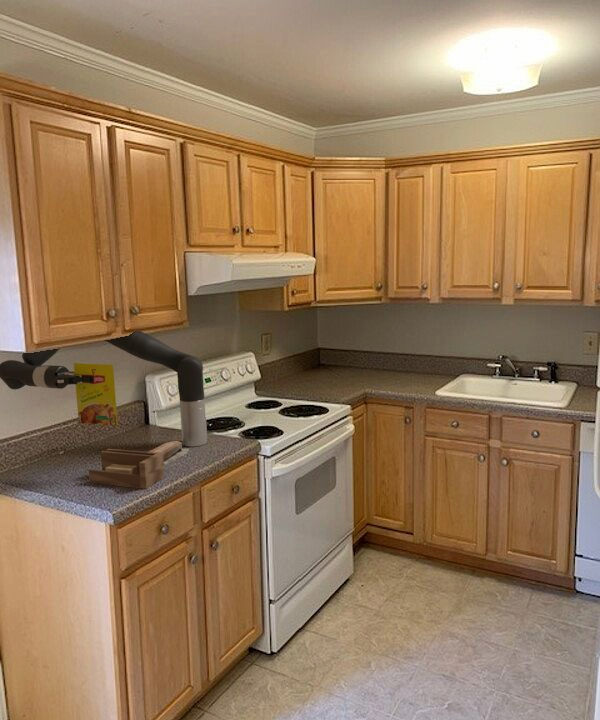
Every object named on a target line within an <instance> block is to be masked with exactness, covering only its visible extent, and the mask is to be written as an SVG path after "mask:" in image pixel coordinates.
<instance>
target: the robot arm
mask: <svg viewBox="0 0 600 720" xmlns="http://www.w3.org/2000/svg"><path fill="white" fill-rule="evenodd" d="M104 341H105V342H107V343H109V344H110V345H113V346H114V347H116V348H118V349H120V350H122V351H125V352H126V353H128V354H130V355H132V356H134V357H136V358H138V359H141V360H144V361H147V362H151V363H153V364H157V365H158V364H159V365H162V366H165V367H166V368H168V369H171V370H172V371H174V372H176V373H177V375H176V376H177V377H176V378H177V386H178V388H177V389H178V396H179V408H180V409H179V410H180V411H179V412H180V413H179V414H180V427H181V443H182V446H184V445H185V446H184V447H200V446H203V445H206V444H207V442H208V431H207V430H208V429H207V417H206V405H205V388H204V375H203V374H204V371H203V370H204V365H203V363H202V361H201V360H200V359H199V358H197V357H196V356H193V355H191V354H188V353H186V352H182V351H180V350H177V349H175V348H172V347H171V346H169V345H167V344H166V343H164V342H162V341H160V340H159V339H156V338H155V337H153V336H152V335H149V334H147V333H146V332H143V331H142V330H139V331H135V332H133V333H132V334H130V335H129V336H125V337H120V338H116V339H111V340H104ZM60 349H61V348H59V349H53V350H46V351H40V352H34V353H24V352H23V353H21V358H22V360H23V362H22V361H18V360H15V359H9V360H5V361H3V362H1V363H0V380H2V381H3V383H4V384H5V385H6V386H7V387H8V388H10V390H20V389H22V388H23V387H25V386H28V387H37V388H38V387H39V388H43V389H59V390H62V389H64V388H67V386H70V385H75V384H78V383H93V382H94V377H93V376H86V375H84V376H82V375H77V374H76V373H75V372H74V370H69V369H68V368H67V366H64V365H47V364H46V365H45V363H46V362H47V361H48V360H50V359H51V358H52V357H53V356H55V355H56V354H57V352H59V350H60Z"/></svg>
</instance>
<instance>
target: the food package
mask: <svg viewBox="0 0 600 720" xmlns="http://www.w3.org/2000/svg"><path fill="white" fill-rule="evenodd" d="M73 371H74V372H75V373H76V374H77V375H82V376H84V375H86V376H93V377H94V382H93V383H78V384H74V385H75V394H76V406H77V421H78V423H79V424H85V425H86V424H88V425H98V426H99V425H100V426H101V425H102V426H112V427H113V426H115V427H118V411H117V399H116V383H115V373H114V372H115V370H114V364H110V363H109V364H106V363H79V362H73Z"/></svg>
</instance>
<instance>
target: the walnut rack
mask: <svg viewBox="0 0 600 720" xmlns="http://www.w3.org/2000/svg"><path fill="white" fill-rule="evenodd" d="M100 459H101V461H100V462H101V470H100V469H95V468H94V469H93V468H91V469H88V478H89V479H88V481H89V483H91V482H93V484H100V483H101V484H102V485H109V486H110V485H111V486H118V487H128V488H135V487H136V488H137V489H146V490H147V489H148V488H150V487H152V486H153V485H155V484H156V483H158V482H159V481H161V480H163V479H165V467H164V462H163V453H152V452H149V451H138V450H127V449H126V450H125V449H118V448H116V449H115V448H106V449H105V450H102V451H100ZM112 464H119V465H131V466H137V469H138V474H132V473H123V472H113V471H105V468H106V467H108V466H110V465H112Z"/></svg>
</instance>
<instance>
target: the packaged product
mask: <svg viewBox="0 0 600 720" xmlns="http://www.w3.org/2000/svg"><path fill="white" fill-rule="evenodd" d="M188 451H189V452H190V449H189V448H183V444H182V441H179V440H173V441H168V442H165V443H163V444H160V445H159V446H157V447H155V448H153V449H151V450H149V451H148V452H152V453H163V462H164V468H166V467H167V466H169V465H170V464H172V463H173V462H175V461H177V460H179V459H180V458H181V456H182V457H183V456H185V455H187V454H188V453H189V452H188ZM187 452H188V453H187ZM184 454H185V455H184ZM178 458H179V459H178ZM176 459H177V460H176ZM168 464H169V465H168Z"/></svg>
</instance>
